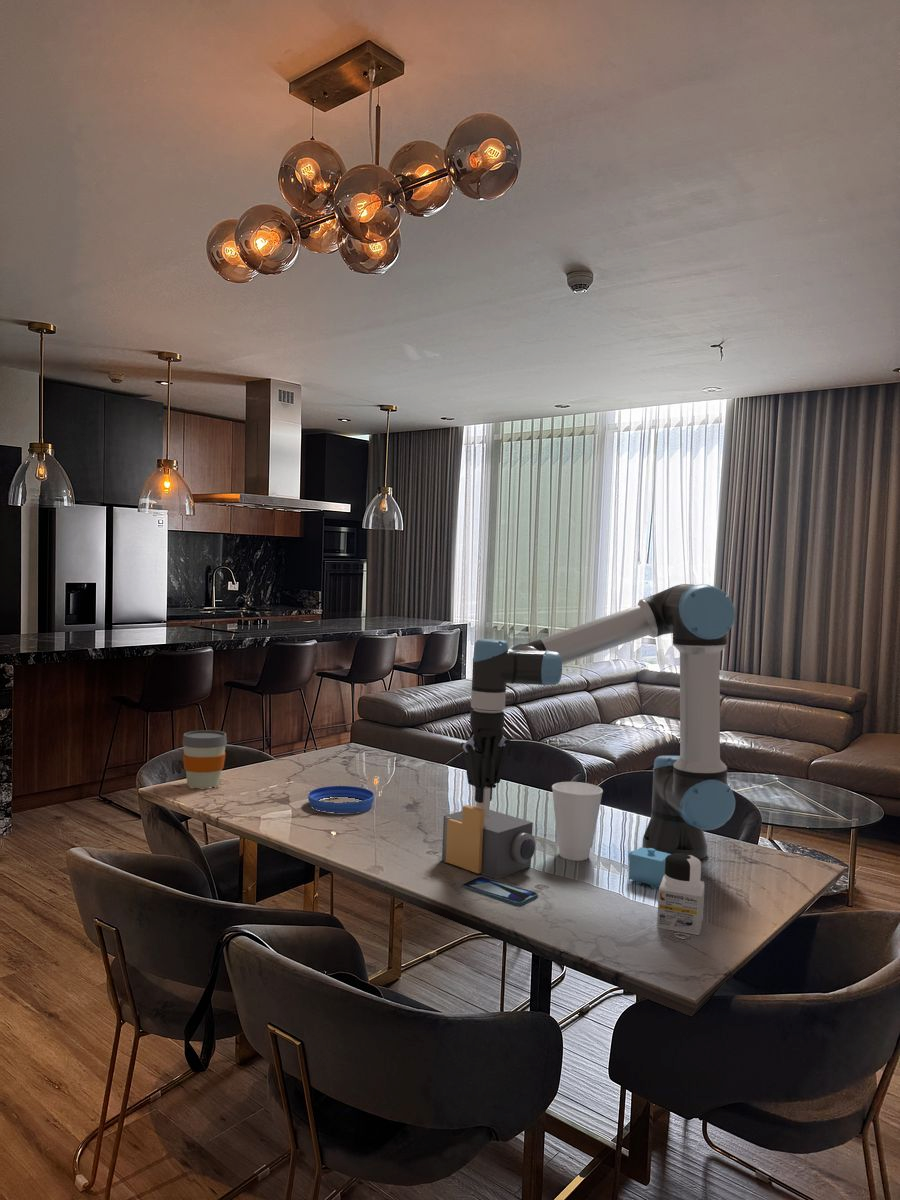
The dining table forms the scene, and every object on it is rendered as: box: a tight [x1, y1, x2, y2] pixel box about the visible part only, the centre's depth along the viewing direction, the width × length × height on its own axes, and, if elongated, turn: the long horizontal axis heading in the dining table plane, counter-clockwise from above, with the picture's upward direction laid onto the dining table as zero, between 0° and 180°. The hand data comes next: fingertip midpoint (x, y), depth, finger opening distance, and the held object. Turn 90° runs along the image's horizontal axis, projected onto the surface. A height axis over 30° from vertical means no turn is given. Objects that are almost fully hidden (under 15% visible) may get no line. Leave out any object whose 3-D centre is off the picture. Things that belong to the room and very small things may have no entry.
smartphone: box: [461, 876, 539, 907], centre depth 171 cm, size 7×1×15 cm
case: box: [441, 809, 536, 880], centre depth 186 cm, size 18×12×11 cm, turn 47°
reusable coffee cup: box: [181, 729, 228, 789], centre depth 243 cm, size 13×13×15 cm
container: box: [656, 853, 705, 936], centre depth 158 cm, size 8×8×13 cm
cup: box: [551, 781, 604, 862], centre depth 195 cm, size 12×12×16 cm
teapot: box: [627, 846, 670, 890], centre depth 179 cm, size 12×6×8 cm, turn 54°
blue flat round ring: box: [307, 785, 375, 814], centre depth 229 cm, size 18×18×4 cm
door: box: [442, 804, 485, 875], centre depth 183 cm, size 11×2×14 cm, turn 47°
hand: (482, 816), depth 183 cm, fingers closed
